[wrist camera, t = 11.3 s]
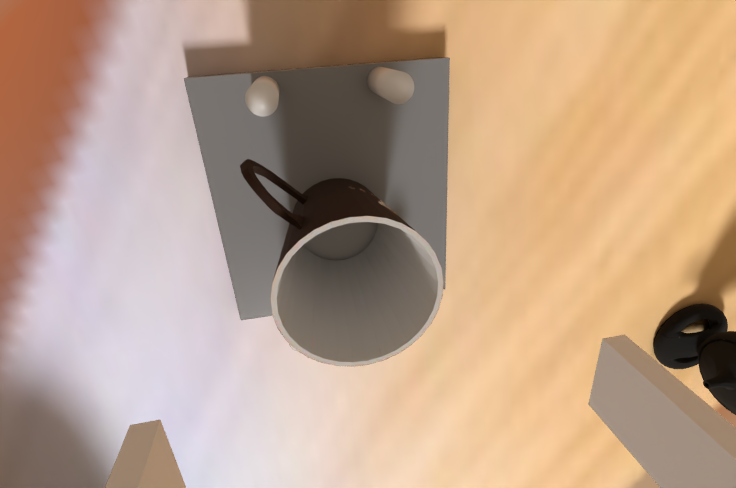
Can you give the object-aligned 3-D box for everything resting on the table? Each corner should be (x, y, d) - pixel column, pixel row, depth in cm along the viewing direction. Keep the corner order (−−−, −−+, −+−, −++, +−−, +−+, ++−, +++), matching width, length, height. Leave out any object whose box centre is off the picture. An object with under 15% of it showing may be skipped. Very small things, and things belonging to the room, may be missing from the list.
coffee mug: (407, 255, 32) (454, 337, 23) (297, 289, 32) (302, 386, 23) (371, 99, 27) (414, 127, 18) (238, 138, 26) (215, 185, 17)
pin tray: (242, 311, 33) (233, 365, 27) (187, 77, 26) (161, 86, 20) (440, 281, 35) (469, 326, 29) (443, 57, 28) (482, 60, 22)
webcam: (708, 355, 45) (813, 431, 36) (645, 370, 44) (735, 452, 35) (727, 294, 42) (847, 362, 33) (658, 309, 41) (762, 383, 32)
